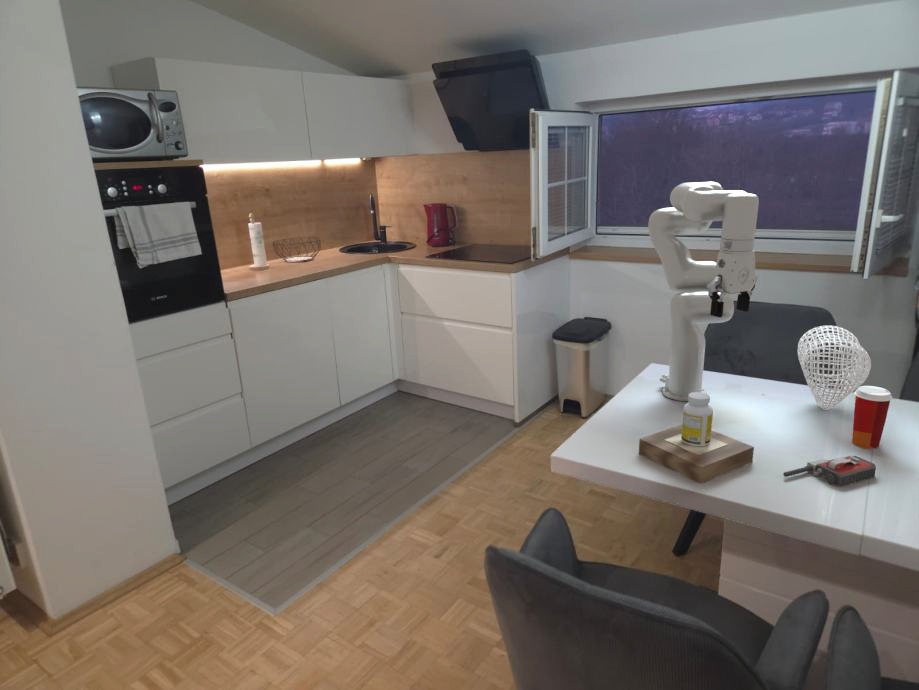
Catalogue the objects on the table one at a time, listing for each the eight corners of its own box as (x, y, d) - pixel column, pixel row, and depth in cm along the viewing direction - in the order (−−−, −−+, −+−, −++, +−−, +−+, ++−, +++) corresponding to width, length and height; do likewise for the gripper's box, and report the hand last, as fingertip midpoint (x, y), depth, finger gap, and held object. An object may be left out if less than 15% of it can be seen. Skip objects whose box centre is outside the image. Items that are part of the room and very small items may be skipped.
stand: (638, 453, 153) (639, 437, 152) (689, 436, 162) (690, 421, 161) (700, 483, 138) (701, 466, 137) (752, 462, 147) (754, 446, 146)
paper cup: (877, 439, 157) (886, 386, 153) (888, 452, 150) (898, 397, 146) (842, 436, 159) (850, 384, 155) (851, 449, 152) (860, 394, 148)
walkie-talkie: (844, 461, 147) (779, 478, 140) (847, 443, 146) (781, 460, 139) (880, 477, 139) (813, 496, 133) (884, 459, 138) (816, 477, 131)
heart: (789, 390, 192) (798, 318, 186) (848, 395, 186) (859, 322, 180) (798, 424, 167) (809, 344, 161) (867, 432, 161) (880, 348, 155)
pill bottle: (707, 436, 151) (711, 391, 148) (712, 448, 145) (716, 401, 142) (679, 435, 153) (682, 390, 150) (682, 446, 147) (686, 399, 143)
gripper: (725, 251, 147) (718, 322, 152) (773, 243, 155) (765, 311, 160) (699, 247, 153) (693, 315, 158) (746, 240, 161) (739, 305, 166)
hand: (729, 313), depth 159 cm, fingers open, 9 cm apart
